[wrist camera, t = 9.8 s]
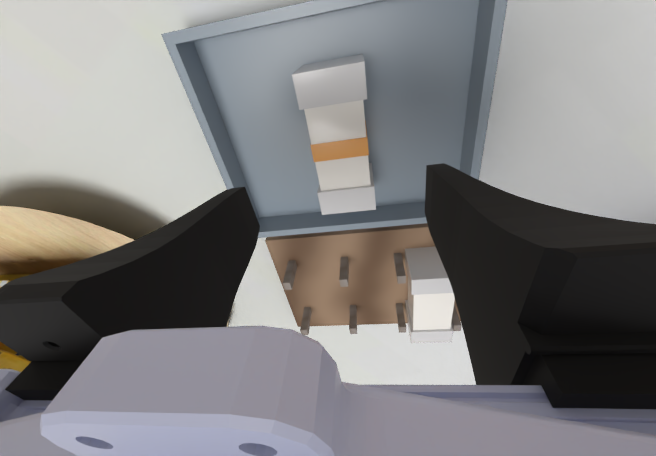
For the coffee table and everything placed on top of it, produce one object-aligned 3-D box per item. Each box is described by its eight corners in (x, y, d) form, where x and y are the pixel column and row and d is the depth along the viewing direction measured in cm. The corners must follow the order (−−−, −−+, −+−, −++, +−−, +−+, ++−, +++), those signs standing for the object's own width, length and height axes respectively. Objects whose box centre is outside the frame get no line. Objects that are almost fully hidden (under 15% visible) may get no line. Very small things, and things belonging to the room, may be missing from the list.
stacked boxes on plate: (244, 356, 37) (183, 545, 24) (63, 338, 38) (-94, 511, 25) (205, 194, 22) (-14, 453, 9) (-90, 170, 23) (-695, 376, 10)
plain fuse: (448, 245, 22) (462, 277, 19) (442, 309, 27) (451, 342, 24) (404, 248, 23) (411, 280, 20) (405, 310, 27) (410, 342, 25)
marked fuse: (362, 53, 15) (364, 61, 13) (373, 183, 20) (376, 209, 17) (302, 64, 16) (291, 74, 13) (326, 188, 21) (322, 214, 18)
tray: (490, -36, 13) (514, -45, 11) (460, 200, 21) (472, 219, 19) (185, 32, 16) (161, 34, 14) (257, 219, 23) (248, 238, 21)
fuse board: (479, 214, 21) (498, 245, 19) (461, 312, 28) (474, 345, 26) (268, 233, 24) (256, 262, 21) (299, 318, 31) (293, 349, 28)
